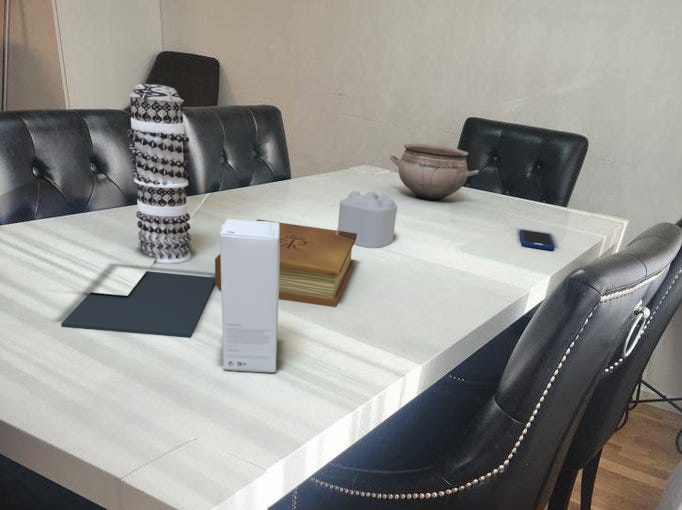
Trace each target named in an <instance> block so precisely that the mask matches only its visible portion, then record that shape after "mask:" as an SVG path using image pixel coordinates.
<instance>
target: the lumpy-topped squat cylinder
mask: <svg viewBox="0 0 682 510" xmlns="http://www.w3.org/2000/svg"><path fill="white" fill-rule="evenodd" d="M397 211H398V205H397V203H396V202H395V201H394V199H392V198H390V197H389V195H388V194H386V193H382V194H380V195H378V193H377V192H375V191H369V192H367V193H366V194H361V193H360V192H359V191H357V190H353V191H351V192H350V193H349V194H348V196H347V197H346V198H343V199H340V202H339V211H338V223H337V231H344V232H351V233H357V238H356V241H355V243H354V245H356V246H359V247H362V248H367V249H379V248H380V249H381V248H384V247H387V246H389V245H391V244H393V242H394V234H395V226H396V221H397V220H396V219H397Z"/></svg>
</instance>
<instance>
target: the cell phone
mask: <svg viewBox="0 0 682 510" xmlns="http://www.w3.org/2000/svg"><path fill="white" fill-rule="evenodd" d="M519 238H520V243H521V246H522V247H528V248H535V249H542V250H546V251H555V248H556V245H555V243H554V240H553V237H552V235H551V233H549V232H548V233H547V232H542V231H534V230H527V229H520V230H519Z"/></svg>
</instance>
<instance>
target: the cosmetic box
mask: <svg viewBox="0 0 682 510" xmlns="http://www.w3.org/2000/svg"><path fill="white" fill-rule="evenodd" d="M266 221H267V220H266ZM266 221H256V220H245V219H234V218H233V219H232V218H226V219H225V221H224V223H223V224H221V225H220V228H221V230H220V233H219V251H220V253H219V254H220V258H221V290H220V294H221V322H222V323H221V325H222V367H223V370H226V371H232V372H233V371H234V372H250V373H251V372H252V373H276V371H277V355H278V333H279V331H278V329H279V328H278V327H279V300H280V299H279V260H280V225H279V223H277V222H278V221H273V222H266Z"/></svg>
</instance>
